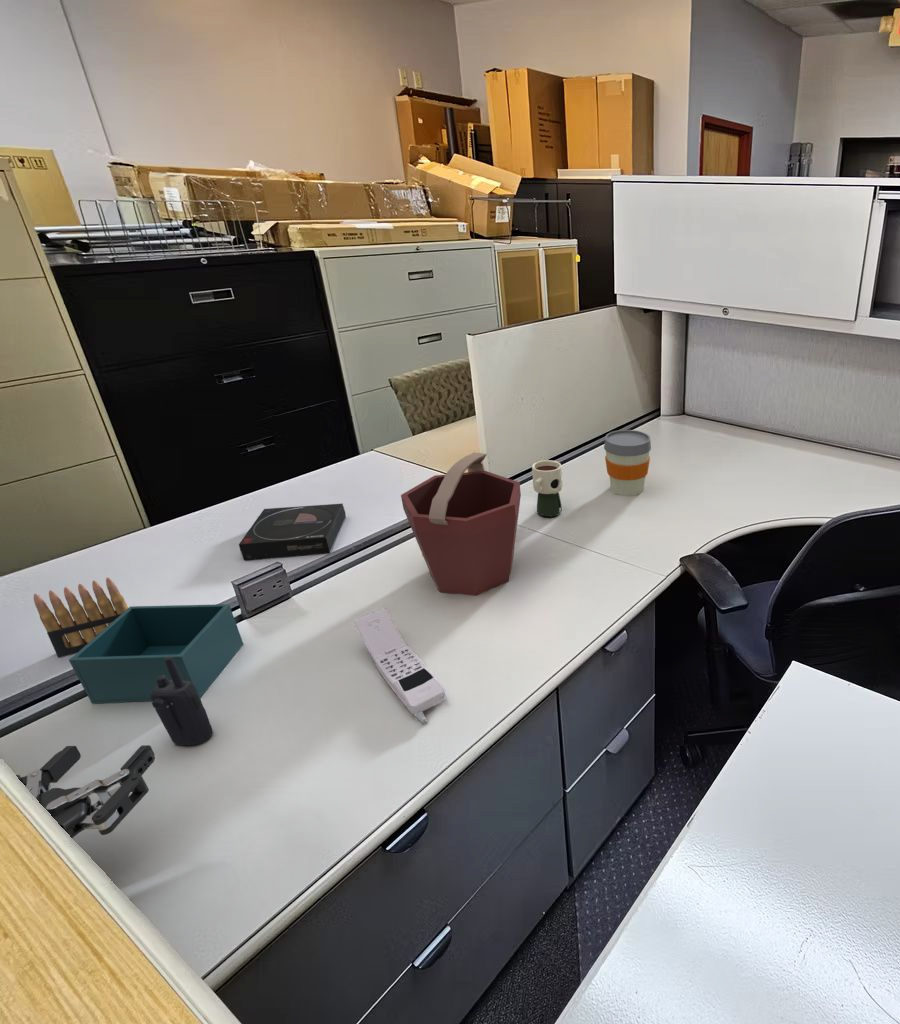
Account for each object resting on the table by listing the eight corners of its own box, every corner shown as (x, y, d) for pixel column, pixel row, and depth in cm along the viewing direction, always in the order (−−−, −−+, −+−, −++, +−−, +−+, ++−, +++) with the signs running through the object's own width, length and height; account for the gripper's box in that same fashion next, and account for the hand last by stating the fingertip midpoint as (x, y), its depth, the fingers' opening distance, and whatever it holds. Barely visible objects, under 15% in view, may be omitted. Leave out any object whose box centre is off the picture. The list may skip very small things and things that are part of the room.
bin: (91, 703, 94) (68, 660, 90) (148, 647, 106) (130, 606, 102) (199, 699, 96) (181, 656, 92) (243, 644, 107) (229, 603, 103)
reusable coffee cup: (596, 492, 167) (595, 440, 160) (618, 476, 177) (618, 426, 170) (637, 502, 163) (638, 449, 156) (657, 484, 173) (659, 434, 166)
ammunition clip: (140, 629, 109) (115, 573, 104) (140, 635, 108) (114, 578, 103) (59, 651, 104) (27, 592, 98) (57, 657, 102) (25, 598, 97)
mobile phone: (385, 605, 109) (450, 679, 94) (392, 632, 112) (455, 708, 96) (350, 620, 105) (411, 699, 90) (357, 647, 108) (417, 728, 93)
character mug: (552, 525, 150) (549, 476, 144) (526, 519, 152) (522, 471, 146) (571, 506, 159) (570, 459, 153) (547, 501, 161) (544, 455, 155)
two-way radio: (220, 730, 91) (187, 650, 84) (198, 754, 87) (162, 673, 80) (183, 728, 91) (146, 648, 84) (159, 752, 87) (119, 671, 80)
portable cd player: (346, 517, 149) (342, 502, 147) (330, 553, 134) (326, 537, 132) (269, 522, 145) (265, 507, 143) (244, 560, 130) (238, 544, 128)
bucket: (466, 536, 143) (452, 434, 132) (551, 554, 138) (544, 451, 126) (391, 592, 123) (368, 478, 111) (488, 617, 117) (474, 500, 105)
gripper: (45, 857, 59) (163, 727, 73) (-115, 860, 58) (36, 728, 72) (77, 903, 63) (184, 770, 77) (-74, 907, 62) (63, 772, 76)
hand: (112, 750), depth 75 cm, fingers open, 8 cm apart
